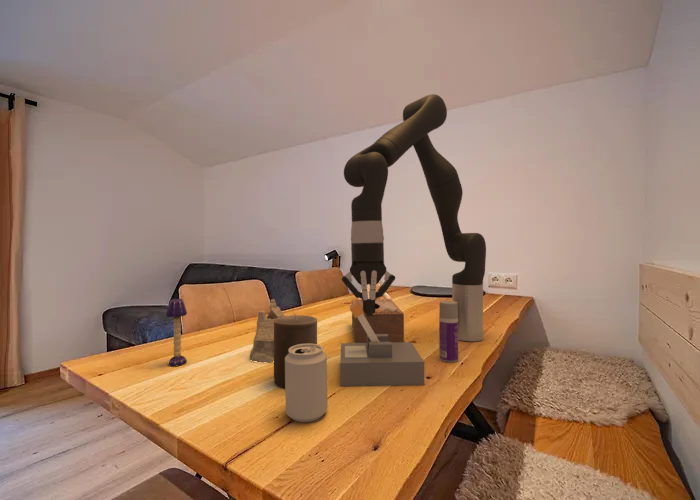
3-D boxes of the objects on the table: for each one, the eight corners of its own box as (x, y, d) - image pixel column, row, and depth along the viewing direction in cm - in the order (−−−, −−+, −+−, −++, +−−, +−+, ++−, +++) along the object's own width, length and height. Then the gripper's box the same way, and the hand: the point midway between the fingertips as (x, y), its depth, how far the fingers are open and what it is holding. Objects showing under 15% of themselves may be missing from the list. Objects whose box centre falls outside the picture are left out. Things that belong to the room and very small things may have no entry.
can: (287, 404, 63) (286, 342, 63) (327, 402, 64) (326, 340, 64) (283, 426, 56) (282, 355, 56) (327, 423, 57) (327, 353, 56)
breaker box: (341, 362, 85) (340, 331, 85) (411, 361, 85) (411, 330, 85) (340, 386, 71) (340, 349, 71) (424, 384, 71) (424, 347, 71)
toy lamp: (192, 362, 87) (190, 298, 86) (176, 368, 82) (174, 301, 82) (179, 359, 89) (177, 297, 88) (163, 365, 84) (161, 300, 84)
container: (459, 363, 84) (459, 304, 83) (440, 362, 85) (439, 303, 84) (457, 356, 88) (456, 300, 88) (438, 355, 89) (438, 300, 89)
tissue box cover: (404, 347, 98) (403, 313, 97) (354, 348, 97) (354, 314, 97) (390, 325, 123) (390, 298, 123) (352, 326, 123) (351, 299, 123)
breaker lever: (375, 349, 80) (349, 305, 80) (383, 344, 80) (358, 300, 80) (377, 356, 76) (349, 309, 76) (386, 350, 76) (358, 303, 76)
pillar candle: (280, 392, 68) (280, 320, 68) (269, 376, 77) (269, 311, 77) (324, 383, 73) (324, 315, 73) (308, 368, 82) (308, 307, 81)
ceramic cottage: (240, 360, 88) (243, 303, 87) (274, 344, 103) (277, 296, 103) (292, 371, 82) (295, 310, 82) (320, 352, 98) (323, 301, 98)
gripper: (393, 240, 81) (394, 311, 82) (339, 242, 81) (341, 312, 81) (398, 240, 74) (400, 318, 74) (338, 242, 73) (340, 320, 74)
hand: (369, 315), depth 78 cm, fingers closed
